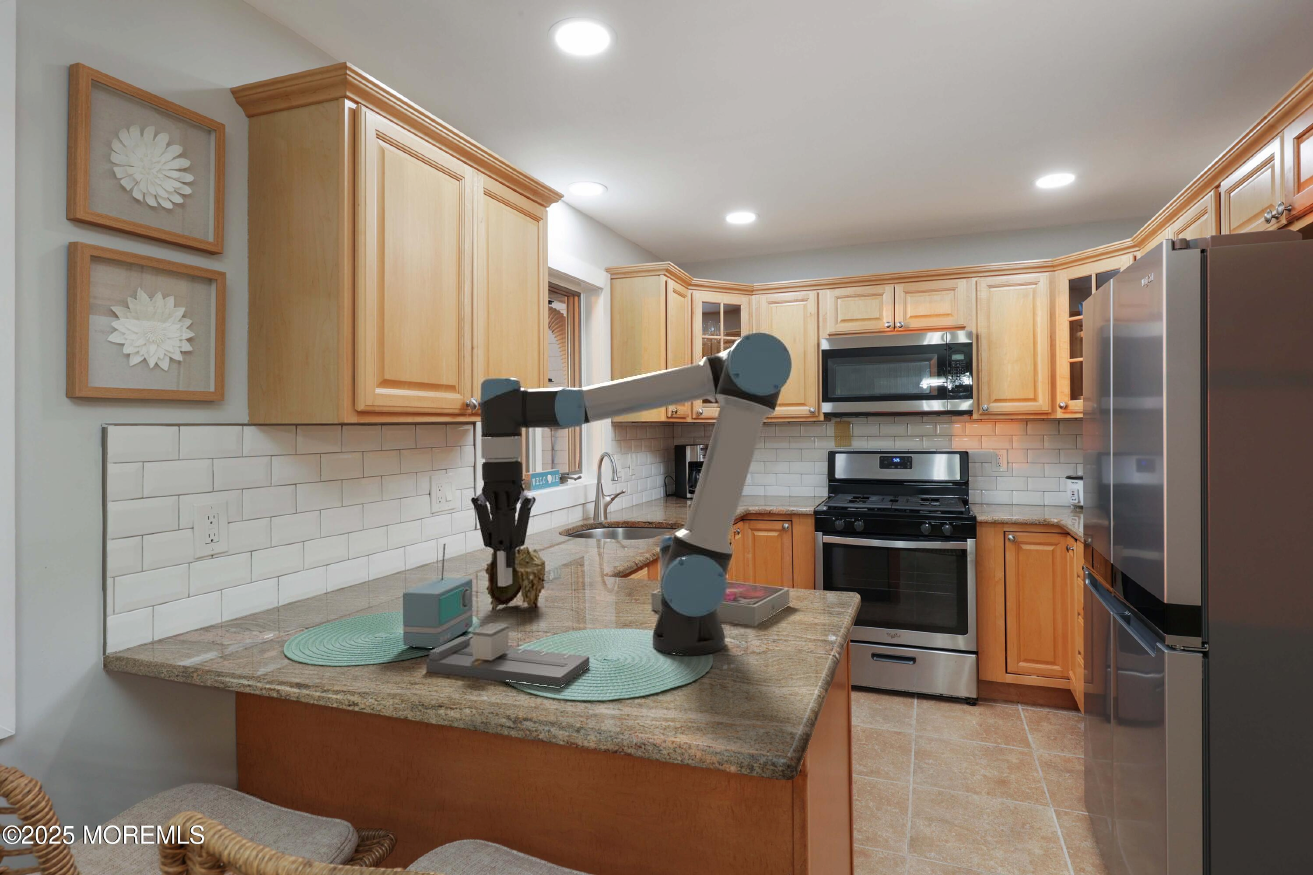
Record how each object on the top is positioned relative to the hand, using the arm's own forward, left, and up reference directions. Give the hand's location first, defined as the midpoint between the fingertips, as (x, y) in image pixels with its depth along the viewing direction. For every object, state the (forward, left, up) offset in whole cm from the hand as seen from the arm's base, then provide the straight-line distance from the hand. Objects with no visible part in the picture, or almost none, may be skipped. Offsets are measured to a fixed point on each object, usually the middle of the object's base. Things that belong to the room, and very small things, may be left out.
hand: (505, 584), depth 130 cm
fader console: (-1, 0, -16) cm, 16 cm away
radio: (+23, -12, -16) cm, 31 cm away
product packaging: (-28, -57, -17) cm, 65 cm away
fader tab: (+3, 0, -14) cm, 14 cm away
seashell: (+21, -40, -16) cm, 48 cm away
